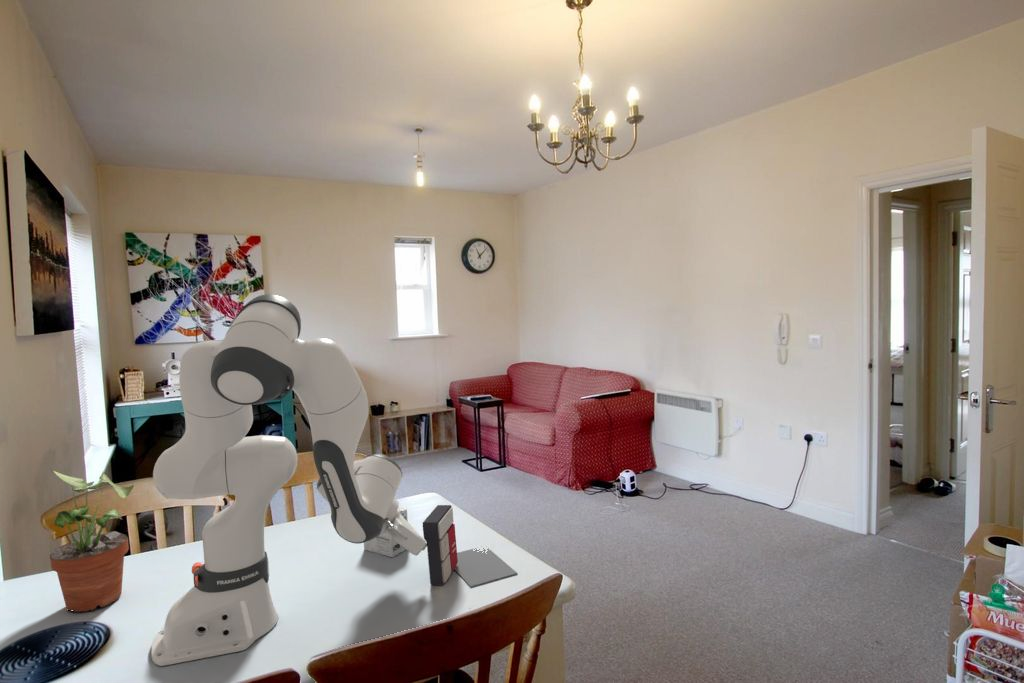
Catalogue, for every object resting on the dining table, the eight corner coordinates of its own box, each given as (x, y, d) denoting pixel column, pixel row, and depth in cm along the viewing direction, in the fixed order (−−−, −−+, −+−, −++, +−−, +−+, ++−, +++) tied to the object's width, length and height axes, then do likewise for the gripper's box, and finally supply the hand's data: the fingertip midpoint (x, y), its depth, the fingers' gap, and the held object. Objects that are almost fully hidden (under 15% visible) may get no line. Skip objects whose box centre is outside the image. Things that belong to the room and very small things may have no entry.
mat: (470, 587, 129) (470, 586, 129) (442, 557, 145) (442, 556, 145) (517, 574, 135) (517, 572, 135) (485, 546, 150) (485, 545, 150)
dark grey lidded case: (445, 586, 130) (440, 522, 129) (427, 585, 131) (422, 522, 129) (459, 563, 141) (454, 504, 139) (442, 562, 141) (437, 504, 140)
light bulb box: (410, 548, 151) (408, 508, 151) (392, 558, 146) (390, 517, 145) (381, 540, 157) (379, 502, 156) (362, 550, 151) (360, 510, 151)
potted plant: (85, 625, 119) (70, 461, 117) (38, 614, 124) (23, 457, 122) (155, 589, 134) (143, 443, 131) (110, 581, 139) (98, 440, 137)
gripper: (402, 515, 119) (448, 550, 124) (377, 489, 137) (418, 520, 142) (382, 541, 117) (429, 575, 122) (360, 511, 136) (402, 541, 141)
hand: (423, 545), depth 133 cm, fingers closed
